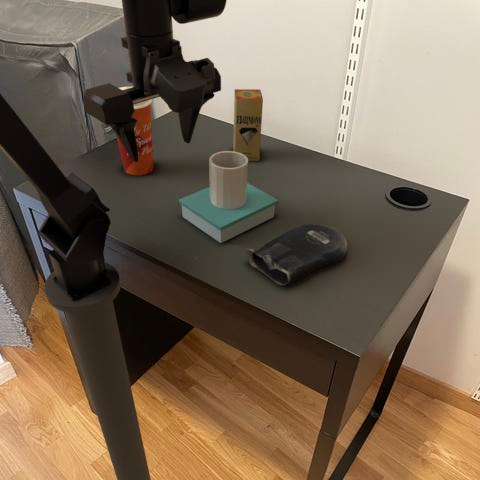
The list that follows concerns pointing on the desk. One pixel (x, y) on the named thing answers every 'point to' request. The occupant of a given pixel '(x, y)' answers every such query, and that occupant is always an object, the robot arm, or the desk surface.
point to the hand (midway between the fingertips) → (162, 151)
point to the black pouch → (298, 252)
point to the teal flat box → (227, 213)
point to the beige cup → (228, 179)
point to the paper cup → (140, 140)
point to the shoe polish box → (248, 122)
